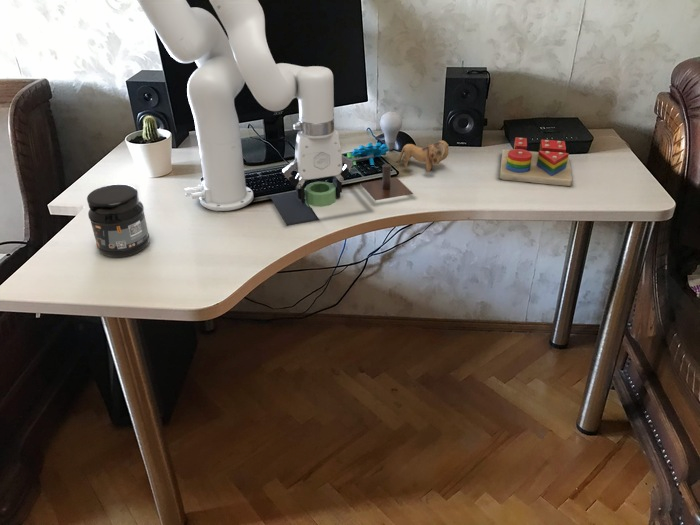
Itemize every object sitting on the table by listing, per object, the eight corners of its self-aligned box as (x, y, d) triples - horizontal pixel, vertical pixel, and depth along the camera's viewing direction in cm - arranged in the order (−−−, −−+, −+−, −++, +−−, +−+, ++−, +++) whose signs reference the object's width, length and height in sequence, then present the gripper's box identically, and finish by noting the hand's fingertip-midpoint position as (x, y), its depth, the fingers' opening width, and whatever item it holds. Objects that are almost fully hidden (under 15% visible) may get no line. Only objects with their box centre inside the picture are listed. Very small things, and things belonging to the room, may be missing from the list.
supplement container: (105, 234, 128) (92, 183, 122) (155, 232, 129) (145, 181, 122) (91, 260, 119) (76, 206, 113) (144, 258, 120) (133, 205, 113)
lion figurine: (449, 171, 156) (452, 138, 151) (443, 179, 151) (446, 145, 147) (396, 162, 161) (397, 130, 156) (389, 170, 156) (390, 137, 152)
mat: (286, 225, 131) (286, 224, 131) (270, 197, 143) (270, 195, 143) (370, 210, 137) (370, 209, 137) (348, 184, 149) (348, 183, 149)
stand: (374, 204, 139) (375, 176, 136) (359, 187, 147) (359, 160, 144) (413, 198, 142) (415, 170, 139) (396, 181, 150) (397, 155, 146)
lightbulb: (376, 147, 170) (377, 109, 164) (396, 145, 171) (397, 107, 166) (383, 155, 165) (384, 116, 159) (404, 152, 166) (406, 114, 161)
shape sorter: (567, 160, 162) (572, 138, 158) (571, 186, 147) (576, 164, 144) (501, 154, 165) (504, 133, 162) (499, 179, 151) (502, 157, 148)
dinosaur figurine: (387, 152, 162) (388, 137, 152) (391, 172, 161) (392, 158, 151) (347, 159, 162) (345, 144, 152) (350, 179, 161) (349, 166, 151)
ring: (310, 211, 136) (310, 196, 134) (302, 198, 141) (301, 184, 139) (339, 206, 138) (339, 191, 136) (330, 194, 143) (329, 179, 141)
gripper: (282, 137, 124) (287, 211, 134) (360, 126, 129) (359, 199, 139) (273, 125, 130) (279, 197, 140) (348, 116, 135) (348, 186, 145)
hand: (319, 198), depth 139 cm, fingers open, 8 cm apart
